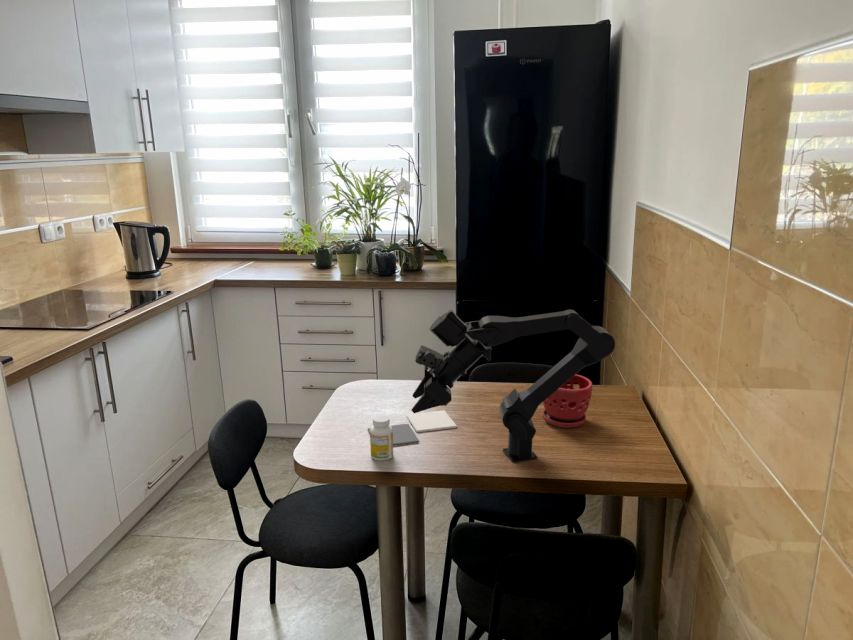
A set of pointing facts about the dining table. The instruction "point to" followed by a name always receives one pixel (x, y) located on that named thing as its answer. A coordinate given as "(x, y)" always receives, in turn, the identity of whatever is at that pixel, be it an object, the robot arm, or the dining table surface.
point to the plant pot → (568, 403)
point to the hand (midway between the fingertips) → (413, 404)
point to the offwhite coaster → (431, 421)
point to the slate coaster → (402, 435)
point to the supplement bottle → (381, 438)
